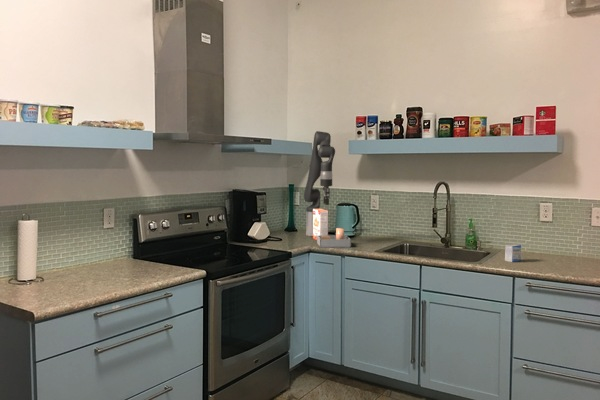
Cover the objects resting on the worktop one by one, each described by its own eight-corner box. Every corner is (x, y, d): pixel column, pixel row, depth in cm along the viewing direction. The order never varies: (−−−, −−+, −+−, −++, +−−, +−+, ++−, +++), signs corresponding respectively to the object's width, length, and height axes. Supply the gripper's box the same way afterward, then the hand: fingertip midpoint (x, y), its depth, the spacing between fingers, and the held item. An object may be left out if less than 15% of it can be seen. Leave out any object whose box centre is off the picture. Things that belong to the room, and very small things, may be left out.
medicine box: (511, 262, 268) (512, 246, 267) (504, 261, 272) (505, 245, 271) (521, 260, 272) (521, 245, 272) (513, 259, 276) (514, 243, 275)
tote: (316, 243, 327) (317, 235, 326) (346, 242, 328) (346, 235, 328) (320, 247, 309) (320, 239, 309) (350, 247, 311) (351, 239, 311)
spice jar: (335, 243, 322) (336, 227, 321) (343, 243, 321) (344, 228, 320) (335, 244, 317) (336, 228, 316) (343, 245, 316) (344, 229, 315)
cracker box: (312, 239, 344) (312, 208, 342) (320, 238, 346) (320, 208, 344) (319, 242, 330) (319, 210, 329) (328, 241, 332) (328, 210, 331)
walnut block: (321, 243, 321) (321, 236, 320) (329, 243, 321) (329, 235, 321) (322, 245, 316) (322, 237, 315) (330, 245, 316) (330, 237, 316)
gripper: (333, 178, 308) (333, 205, 310) (330, 178, 322) (330, 203, 324) (321, 178, 308) (321, 205, 309) (319, 178, 322) (318, 203, 323)
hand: (326, 204), depth 316 cm, fingers open, 8 cm apart
